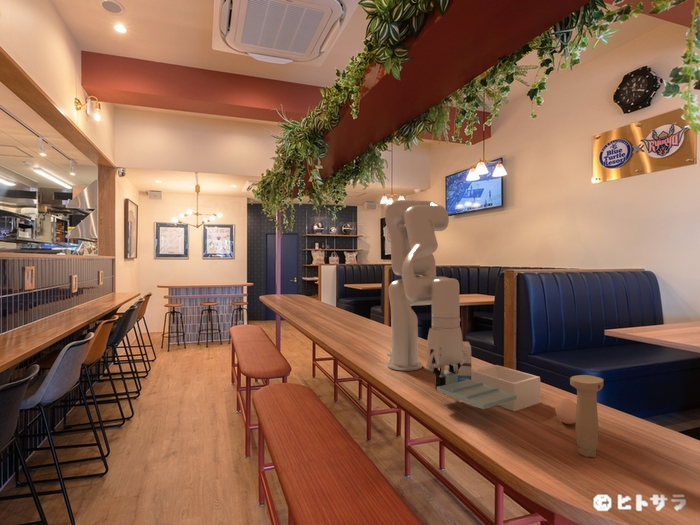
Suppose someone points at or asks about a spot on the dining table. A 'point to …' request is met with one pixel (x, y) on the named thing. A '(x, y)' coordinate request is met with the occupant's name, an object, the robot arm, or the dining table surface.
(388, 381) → the dining table surface
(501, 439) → the dining table surface
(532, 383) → the tub
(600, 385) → the handle
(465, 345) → the ink box
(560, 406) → the egg
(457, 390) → the lid
